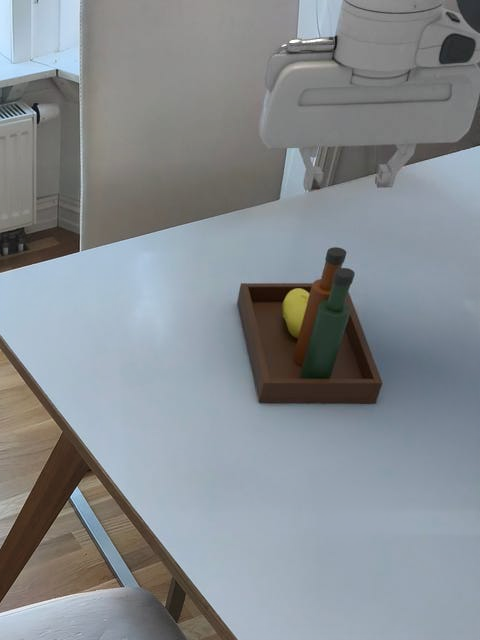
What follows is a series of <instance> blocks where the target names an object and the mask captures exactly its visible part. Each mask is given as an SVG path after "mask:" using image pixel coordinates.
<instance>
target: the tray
mask: <svg viewBox="0 0 480 640" xmlns="http://www.w3.org/2000/svg"><path fill="white" fill-rule="evenodd" d="M312 284H313V282H290V283H289V282H287V283H286V282H281V283H280V282H278V283H277V282H276V283H275V282H273V283H272V282H271V283H270V282H268V283H267V282H265V283H263V282H261V283H259V282H258V283H253V282H252V283H250V282H249V283H248V282H247V283H246V282H244V283H243V282H242V283H240V286H239V291H238V295H237V303H236V304H237V308H238V312H239V317H240V322H241V326H242V331H243V335H244V339H245V340H244V341H245V345H246V350H247V354H248V359H249V362H250V367H251V372H252V377H253V381H254V385H255V390H256V395H257V400H258V403H261V404H262V403H263V404H264V403H265V404H266V403H267V404H268V403H269V404H376V403H377V401H378V397H379V395H380V392H381V389H382V387H383V384H384V383H383V380H382V377H381V375H380V372H379V370H378V366H377V363H376V361H375V358H374V356H373V352H372V350H371V348H370V346H369V343H368V340H367V337H366V335H365V332H364V330H363V329H364V328H363V327H362V324H361V321H360V319H359V316H358V313H357V311H356V308H355V305H354V303H353V300H352V296H351V294H350V291H348V295H347V298H346V302H345V303H347V304H348V305H349V306H350V308H351V311H350V314H349V318H348V321H347V324H346V328H345V331H344V334H343V338H342V341H341V344H340V347H339V351H338V354H337V357H336V361H335V364H334V367H333V371H332V374H331V377H330V379H299V377H300V374H301V370H302V366H299V365H297V364H296V363H295V362H294V360H293V356H294V352H295V348H296V344H297V341H298V339H297V338H295V337H293V336H292V335H291V334H290V332H289V330H288V327H287V324H286V321H285V319H284V317H283V310H282V307H283V301H284V299H285V297H286V295H287V294H288V293H289V292H290V291H292V290H293V289H297V288H300V289H304V290H306V291H307V292H308V293H309V294H310V291H311V287H312Z"/></svg>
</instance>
